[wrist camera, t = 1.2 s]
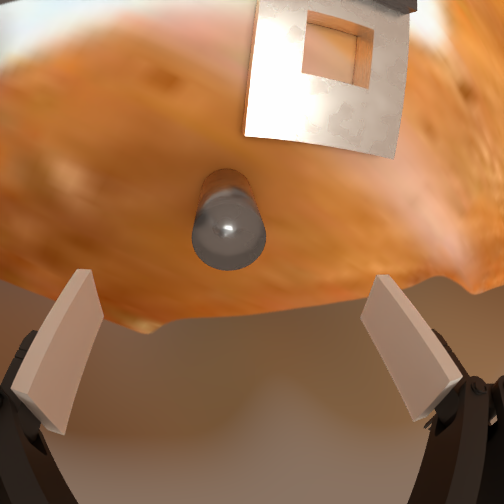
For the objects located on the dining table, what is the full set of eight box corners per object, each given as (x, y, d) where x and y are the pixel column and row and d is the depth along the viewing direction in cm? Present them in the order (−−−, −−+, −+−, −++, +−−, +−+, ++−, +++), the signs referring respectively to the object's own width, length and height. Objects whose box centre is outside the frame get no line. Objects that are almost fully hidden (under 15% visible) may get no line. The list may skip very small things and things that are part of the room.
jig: (241, 132, 24) (247, 138, 19) (261, -32, 15) (270, -57, 11) (376, 152, 26) (405, 164, 21) (391, 5, 17) (420, -6, 13)
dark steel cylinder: (200, 214, 28) (191, 269, 19) (202, 167, 25) (192, 202, 17) (248, 216, 28) (261, 271, 20) (253, 170, 26) (270, 206, 17)
